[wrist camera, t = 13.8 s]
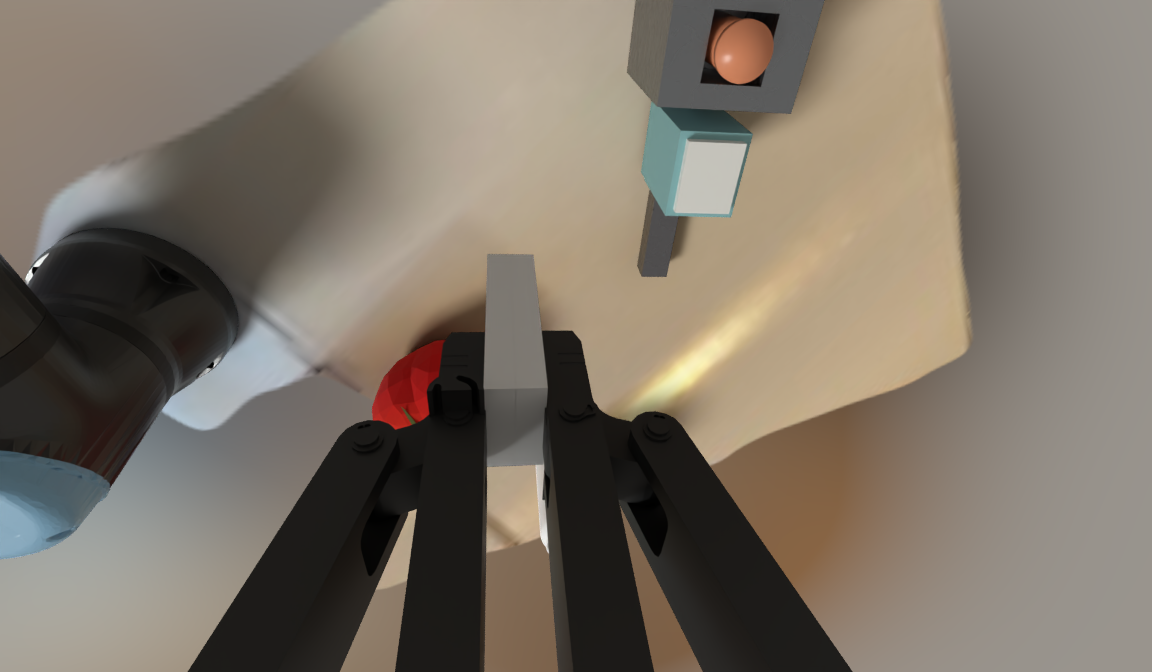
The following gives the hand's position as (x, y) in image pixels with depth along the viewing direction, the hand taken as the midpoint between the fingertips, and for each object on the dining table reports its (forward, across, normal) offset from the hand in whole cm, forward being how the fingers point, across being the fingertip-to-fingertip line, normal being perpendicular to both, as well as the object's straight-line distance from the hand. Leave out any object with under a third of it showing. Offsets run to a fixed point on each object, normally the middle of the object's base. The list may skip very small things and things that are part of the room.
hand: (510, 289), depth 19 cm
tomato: (+30, -7, -28) cm, 42 cm away
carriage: (+29, +14, -3) cm, 33 cm away
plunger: (+24, +14, +5) cm, 28 cm away
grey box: (+29, +14, +5) cm, 33 cm away
